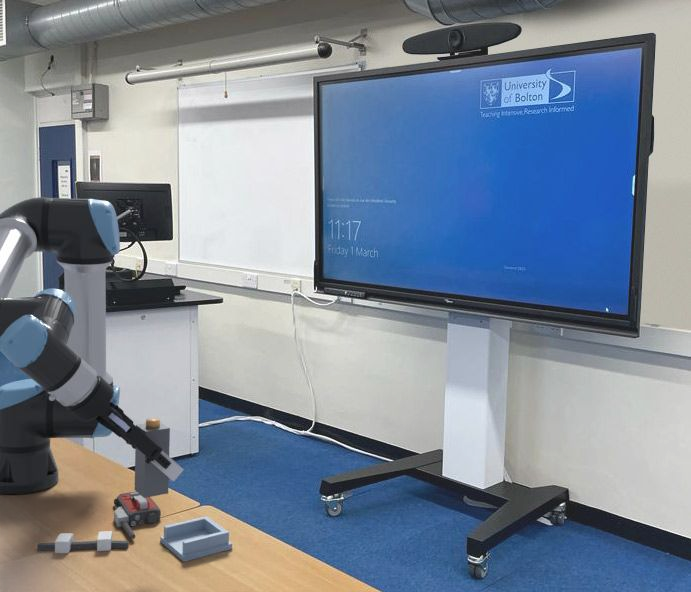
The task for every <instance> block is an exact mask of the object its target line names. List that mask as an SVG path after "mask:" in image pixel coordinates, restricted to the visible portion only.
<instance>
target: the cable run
mask: <svg viewBox="0 0 691 592" xmlns="http://www.w3.org/2000/svg"><path fill="white" fill-rule="evenodd" d="M74 535H75V534H74V533H71V532H69V533H67V532H66V533H64V532H63V533H62V532H61V533H59V534H58V536H57V538H56V539H55V541H54V542H38V543H37V544H36V545H37V546H36V551H54V553H55V554H69V553H70V551H71V550H86V549H88V550H89V549H96V551H97V552H102V551H103V552H105V551H106V552H107V551H109V552H110V551H111V550H112V549H128V547H129V545H130V544H129V543H130V541H129V540H113V530H109V531H108V530H107V531H106V530H104V531H98V535H97V539H96V540H87V541H74Z"/></svg>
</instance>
